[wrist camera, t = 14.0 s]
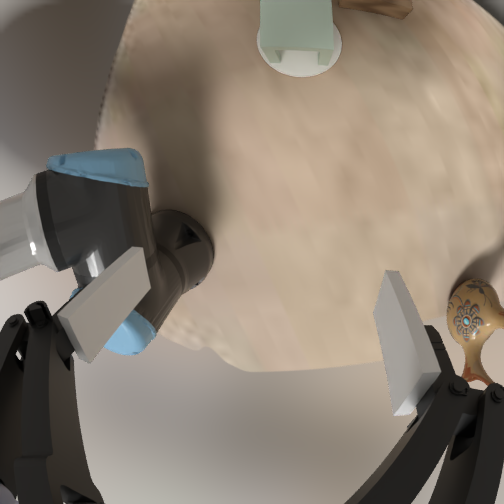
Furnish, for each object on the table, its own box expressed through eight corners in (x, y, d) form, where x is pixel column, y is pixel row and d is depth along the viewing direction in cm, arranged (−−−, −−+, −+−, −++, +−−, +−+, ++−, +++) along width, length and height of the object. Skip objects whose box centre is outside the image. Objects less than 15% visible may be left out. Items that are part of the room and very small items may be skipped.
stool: (270, 63, 31) (260, 46, 23) (270, 17, 28) (260, -8, 20) (327, 65, 30) (333, 49, 22) (326, 19, 26) (330, -6, 18)
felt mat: (257, 76, 33) (256, 75, 33) (257, 9, 28) (256, 7, 27) (341, 81, 31) (342, 80, 31) (339, 12, 26) (339, 10, 25)
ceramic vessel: (469, 250, 38) (541, 342, 16) (493, 266, 37) (557, 351, 15) (423, 317, 45) (460, 422, 24) (450, 328, 45) (487, 422, 23)
